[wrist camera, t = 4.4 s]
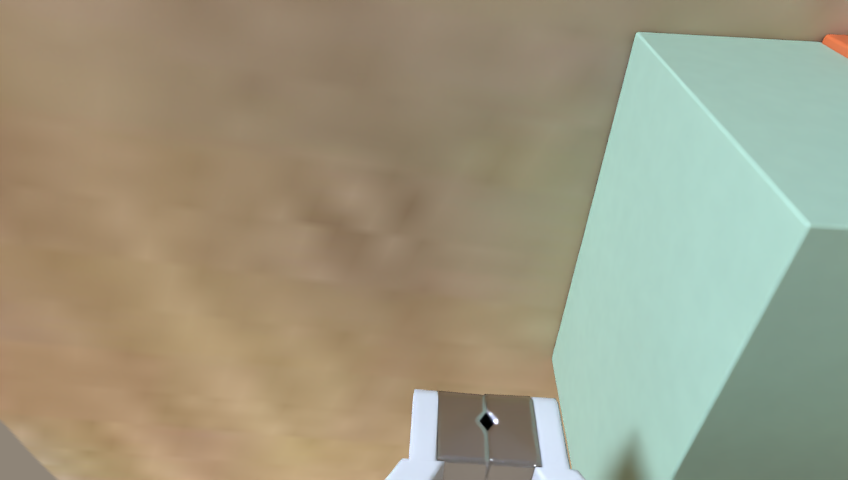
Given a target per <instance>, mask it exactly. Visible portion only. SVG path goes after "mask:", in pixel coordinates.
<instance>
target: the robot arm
mask: <svg viewBox="0 0 848 480" xmlns="http://www.w3.org/2000/svg"><path fill="white" fill-rule="evenodd" d="M385 480H586V479H585V478H584V477H583V476H582V475H581V473H580V472H579V471H578V470H573V469H570V464H569V459H568V454H567V448H566V443H565V438H564V433H563V427H562V422H561V417H560V411H559V406H558V402H557V401H556V399H555V398H540V397H530V396H513V395H493V394H484V395H479V394H467V393H456V392H445V391H439V392H438V391H433V390H420V389H415V390H414V395H413V408H412V422H411V436H410V450H409V459H401V460H400V462H399V463H398V464H397V465H396V467H395V468H394V469H393V470H392V472H391V473H390V474H389V475H388V477H387V478H386V479H385Z"/></svg>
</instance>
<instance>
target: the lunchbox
mask: <svg viewBox="0 0 848 480" xmlns="http://www.w3.org/2000/svg"><path fill="white" fill-rule="evenodd" d="M552 362H553V368H554V373H555V379H556V384H557V389H558V395H559V400H560V406H561V411H562V417H563V422H564V427H565V433H566V438H567V444H568V449H569V454H570V460H571V465H572V469H573V470H578V471H579V472H580V473H581V475H582V476H583V477H584V478H585V479H586V480H848V35H834V34H829V35H826V36H825V37H824V39H823V41H822V43H820V42H811V41H793V40H775V39H757V38H739V37H721V36H703V35H685V34H667V33H649V32H637V33H636V35H635V39H634V43H633V47H632V50H631V54H630V58H629V62H628V66H627V70H626V74H625V78H624V81H623V85H622V89H621V93H620V97H619V101H618V105H617V108H616V112H615V116H614V120H613V124H612V128H611V132H610V136H609V139H608V143H607V147H606V151H605V155H604V159H603V163H602V166H601V170H600V174H599V178H598V182H597V186H596V190H595V194H594V197H593V201H592V205H591V209H590V213H589V217H588V221H587V225H586V228H585V232H584V236H583V240H582V244H581V248H580V252H579V255H578V259H577V263H576V267H575V271H574V275H573V279H572V283H571V286H570V290H569V294H568V298H567V302H566V306H565V310H564V313H563V317H562V321H561V325H560V329H559V333H558V337H557V341H556V344H555V348H554V352H553V356H552Z"/></svg>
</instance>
